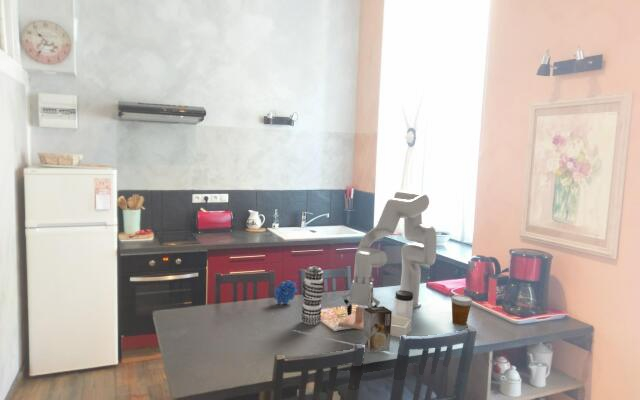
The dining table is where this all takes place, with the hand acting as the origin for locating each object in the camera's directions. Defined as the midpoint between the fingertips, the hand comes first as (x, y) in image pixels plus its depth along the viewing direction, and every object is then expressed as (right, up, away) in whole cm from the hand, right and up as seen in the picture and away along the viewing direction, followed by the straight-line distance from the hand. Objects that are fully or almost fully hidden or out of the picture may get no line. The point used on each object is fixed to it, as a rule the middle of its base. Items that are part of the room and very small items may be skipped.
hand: (359, 316), depth 211 cm
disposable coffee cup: (+47, -5, +9) cm, 48 cm away
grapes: (-35, +1, +22) cm, 41 cm away
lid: (0, -3, 0) cm, 3 cm away
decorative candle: (-22, -3, -1) cm, 22 cm away
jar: (+21, -4, +12) cm, 24 cm away
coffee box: (+4, -7, -24) cm, 26 cm away
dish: (+14, -5, -6) cm, 16 cm away
